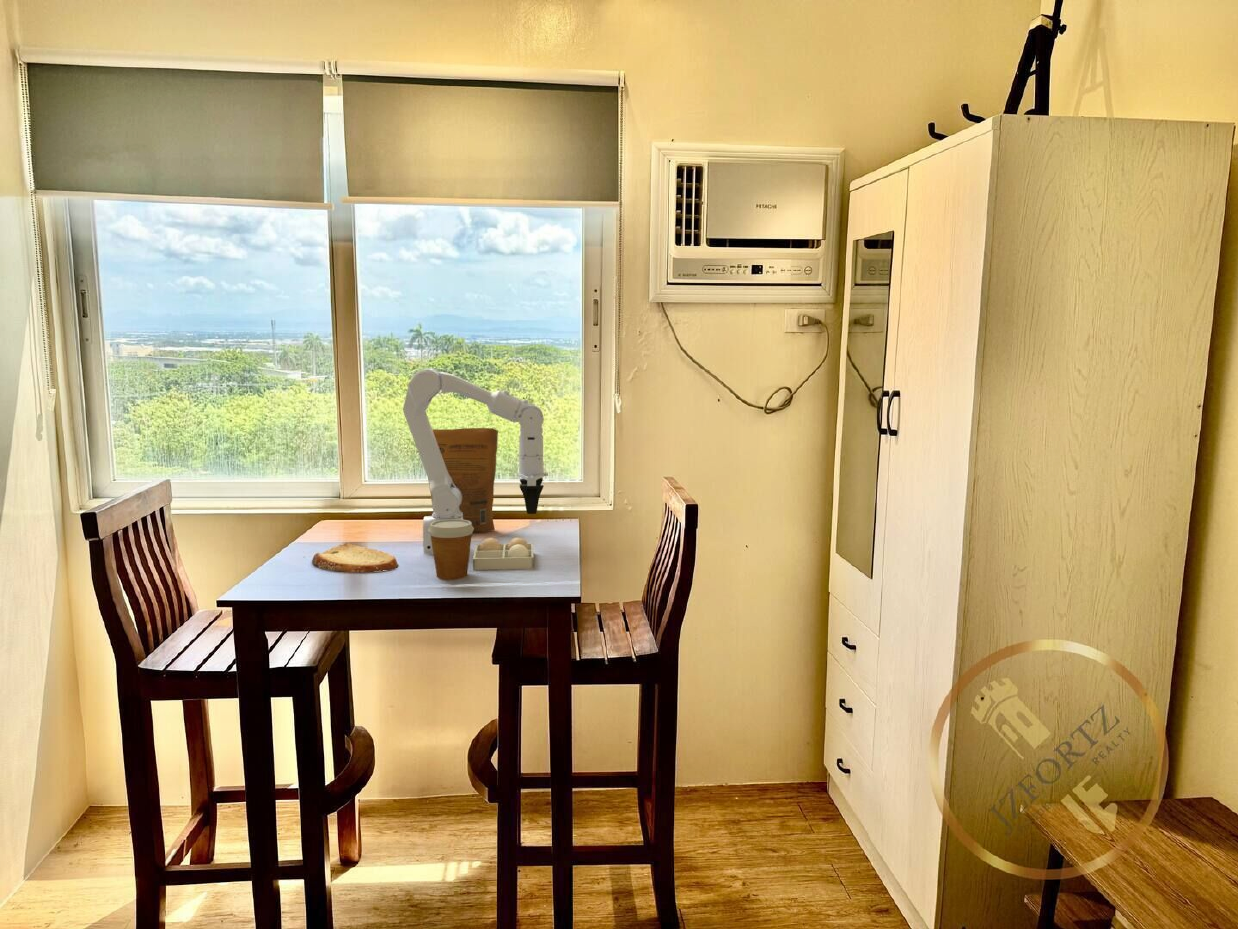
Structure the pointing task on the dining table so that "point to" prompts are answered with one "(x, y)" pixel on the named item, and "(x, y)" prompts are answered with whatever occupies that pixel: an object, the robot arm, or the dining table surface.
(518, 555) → the white egg
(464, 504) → the pancake mix bag
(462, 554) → the disposable coffee cup
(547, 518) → the dining table surface
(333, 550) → the slice of bread
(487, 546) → the brown egg left
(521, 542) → the brown egg right
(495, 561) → the egg carton
